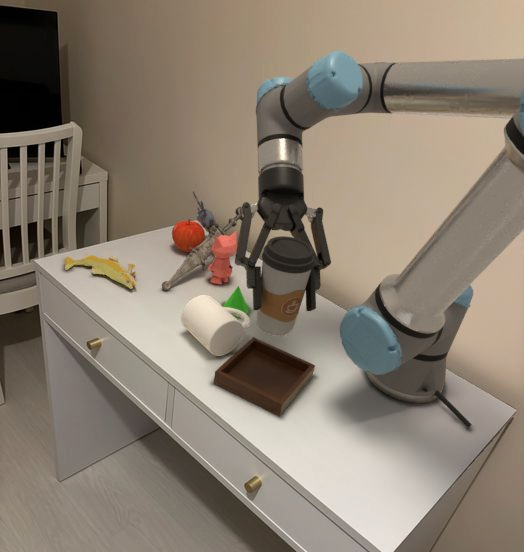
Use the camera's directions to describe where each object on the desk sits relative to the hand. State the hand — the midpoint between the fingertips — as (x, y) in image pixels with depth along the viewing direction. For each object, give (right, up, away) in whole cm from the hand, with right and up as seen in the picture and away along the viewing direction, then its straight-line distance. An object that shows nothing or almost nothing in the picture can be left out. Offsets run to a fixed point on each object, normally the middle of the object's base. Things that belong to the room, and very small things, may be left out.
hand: (284, 309), depth 88 cm
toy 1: (-36, +14, +36) cm, 53 cm away
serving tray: (-3, -12, +13) cm, 18 cm away
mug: (-12, -5, +21) cm, 25 cm away
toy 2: (-13, +18, +46) cm, 51 cm away
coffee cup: (-2, -3, +6) cm, 7 cm away
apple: (-22, +18, +49) cm, 57 cm away
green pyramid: (-10, +2, +31) cm, 32 cm away
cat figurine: (-13, +9, +39) cm, 42 cm away
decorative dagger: (-26, +7, +32) cm, 41 cm away
